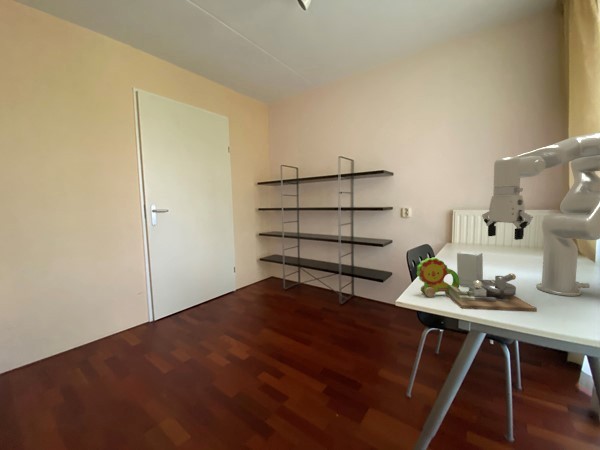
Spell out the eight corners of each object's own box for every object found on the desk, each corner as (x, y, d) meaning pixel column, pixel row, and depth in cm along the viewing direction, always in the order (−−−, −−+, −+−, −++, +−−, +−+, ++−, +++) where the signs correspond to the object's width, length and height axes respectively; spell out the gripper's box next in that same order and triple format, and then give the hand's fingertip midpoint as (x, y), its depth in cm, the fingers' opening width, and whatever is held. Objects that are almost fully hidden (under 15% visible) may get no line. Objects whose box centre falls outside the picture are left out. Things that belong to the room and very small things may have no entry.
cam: (526, 300, 89) (527, 279, 88) (482, 296, 94) (482, 276, 93) (510, 289, 101) (511, 270, 100) (472, 286, 105) (472, 268, 104)
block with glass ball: (480, 295, 96) (480, 278, 95) (486, 299, 92) (486, 282, 92) (468, 295, 97) (469, 278, 96) (474, 299, 93) (474, 281, 92)
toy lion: (453, 293, 103) (454, 256, 103) (461, 298, 98) (462, 259, 97) (414, 292, 104) (415, 256, 103) (420, 297, 99) (420, 258, 98)
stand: (507, 295, 99) (508, 283, 99) (536, 311, 85) (537, 298, 84) (444, 293, 103) (445, 282, 103) (461, 308, 89) (462, 295, 88)
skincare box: (483, 286, 110) (484, 253, 109) (476, 289, 107) (478, 254, 105) (462, 281, 117) (463, 250, 116) (455, 284, 114) (456, 251, 112)
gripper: (541, 190, 86) (538, 240, 87) (491, 192, 102) (489, 234, 104) (524, 191, 84) (522, 241, 85) (476, 193, 100) (475, 235, 102)
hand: (504, 237), depth 95 cm, fingers open, 9 cm apart
